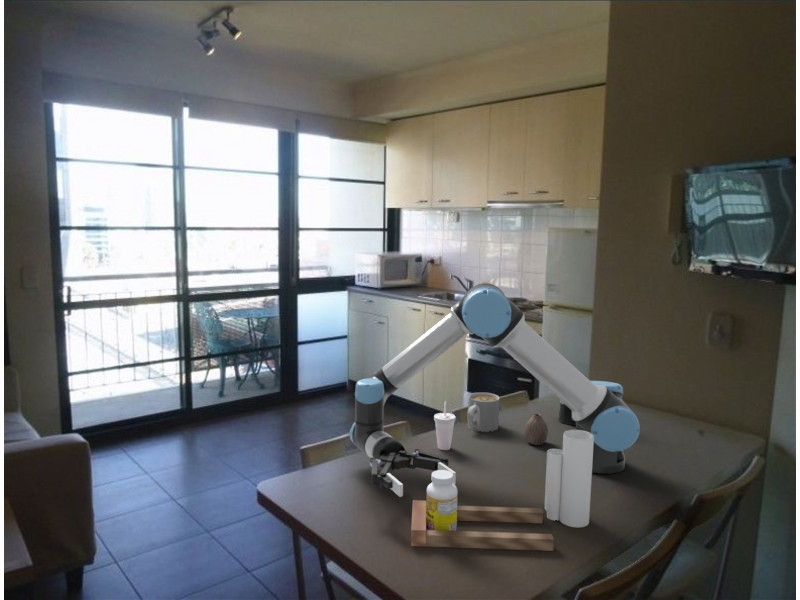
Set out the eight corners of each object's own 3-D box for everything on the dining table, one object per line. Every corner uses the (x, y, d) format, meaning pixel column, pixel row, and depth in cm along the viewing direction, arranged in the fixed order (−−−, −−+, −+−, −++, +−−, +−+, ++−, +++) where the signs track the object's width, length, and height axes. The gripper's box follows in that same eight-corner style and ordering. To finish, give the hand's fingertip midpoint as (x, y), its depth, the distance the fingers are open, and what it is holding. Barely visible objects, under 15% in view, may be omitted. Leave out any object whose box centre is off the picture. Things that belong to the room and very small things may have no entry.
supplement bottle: (423, 523, 130) (424, 468, 128) (453, 522, 131) (454, 467, 129) (428, 539, 124) (429, 481, 122) (459, 538, 124) (460, 480, 123)
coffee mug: (482, 419, 199) (483, 390, 198) (504, 427, 191) (505, 397, 190) (453, 427, 191) (454, 397, 189) (475, 436, 183) (476, 405, 182)
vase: (534, 448, 174) (535, 420, 173) (519, 440, 180) (520, 413, 179) (552, 444, 177) (553, 416, 176) (537, 437, 183) (538, 410, 182)
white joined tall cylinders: (594, 520, 132) (599, 435, 130) (578, 531, 128) (582, 443, 125) (551, 502, 141) (555, 421, 138) (533, 512, 136) (537, 429, 133)
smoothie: (455, 444, 177) (456, 399, 175) (454, 452, 170) (456, 405, 168) (433, 443, 177) (434, 398, 175) (432, 451, 171) (433, 404, 169)
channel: (540, 518, 133) (541, 504, 132) (553, 550, 120) (554, 534, 119) (412, 514, 134) (412, 500, 133) (411, 545, 121) (411, 529, 121)
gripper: (427, 456, 155) (474, 489, 136) (339, 474, 143) (377, 512, 125) (428, 429, 154) (475, 458, 135) (339, 444, 142) (377, 479, 124)
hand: (428, 484), depth 130 cm, fingers open, 13 cm apart
